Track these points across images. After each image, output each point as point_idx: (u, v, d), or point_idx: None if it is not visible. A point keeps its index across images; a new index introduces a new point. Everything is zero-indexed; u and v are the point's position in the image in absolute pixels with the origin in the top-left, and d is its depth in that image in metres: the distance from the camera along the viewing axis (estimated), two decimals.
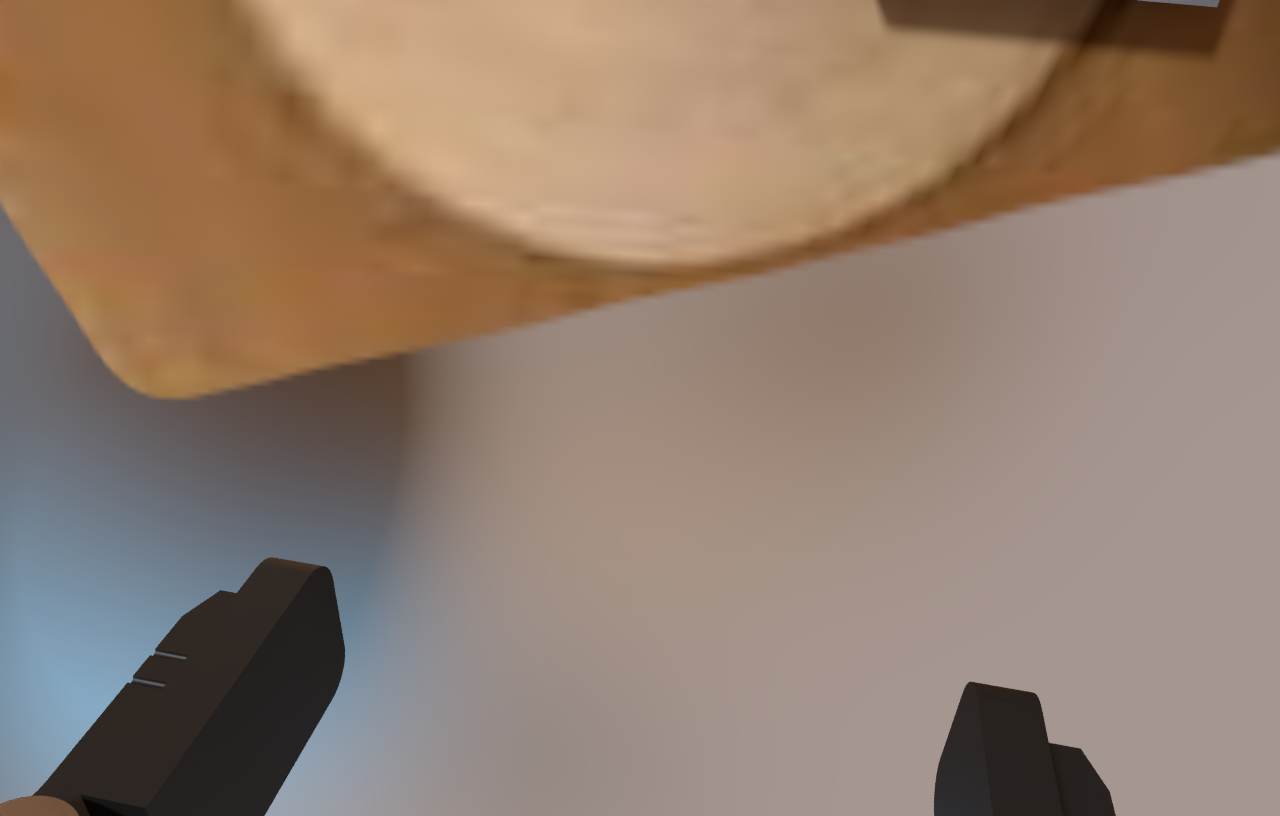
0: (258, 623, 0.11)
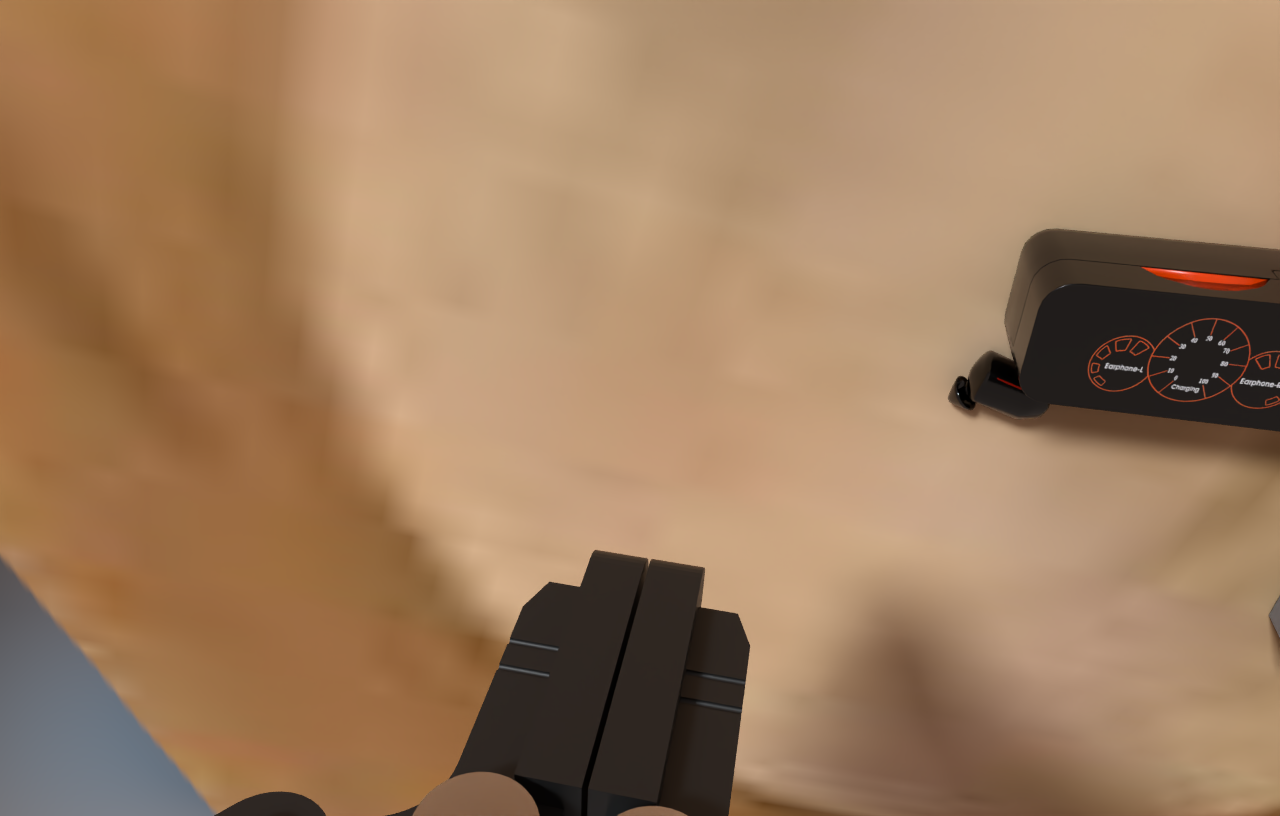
0: (614, 613, 0.11)
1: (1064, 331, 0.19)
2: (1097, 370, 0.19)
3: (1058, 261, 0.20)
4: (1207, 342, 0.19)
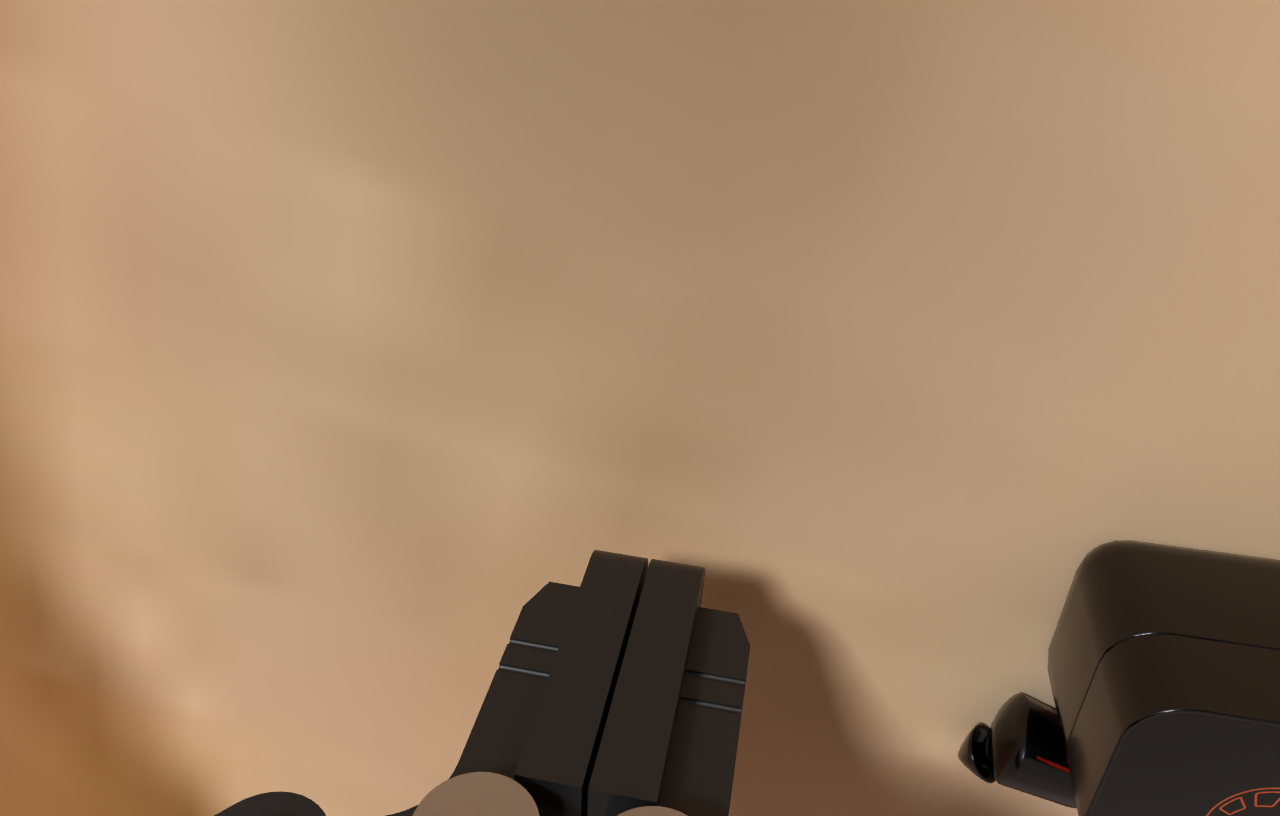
0: (614, 613, 0.11)
1: (1164, 772, 0.11)
2: None
3: (1149, 636, 0.11)
4: None
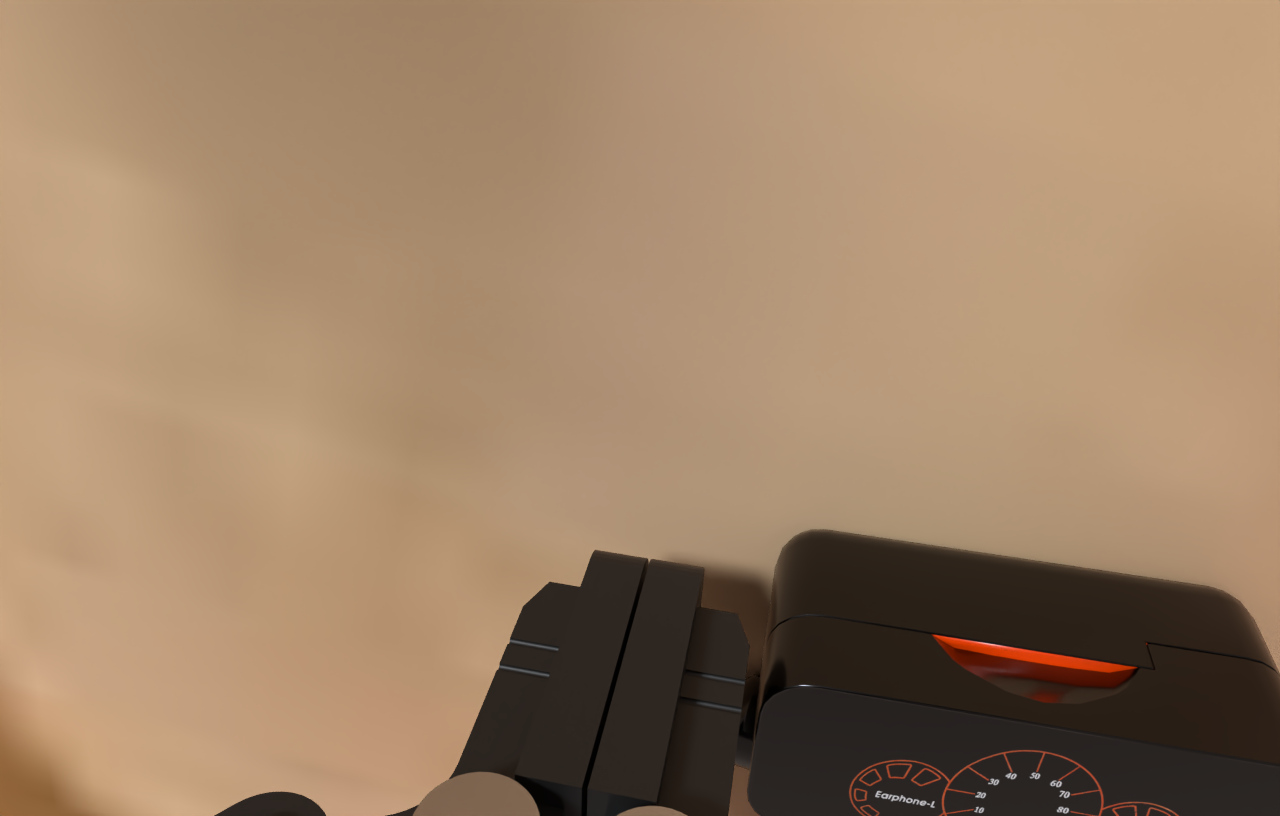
0: (615, 613, 0.11)
1: (804, 745, 0.12)
2: (864, 798, 0.12)
3: (803, 618, 0.12)
4: (1032, 780, 0.11)
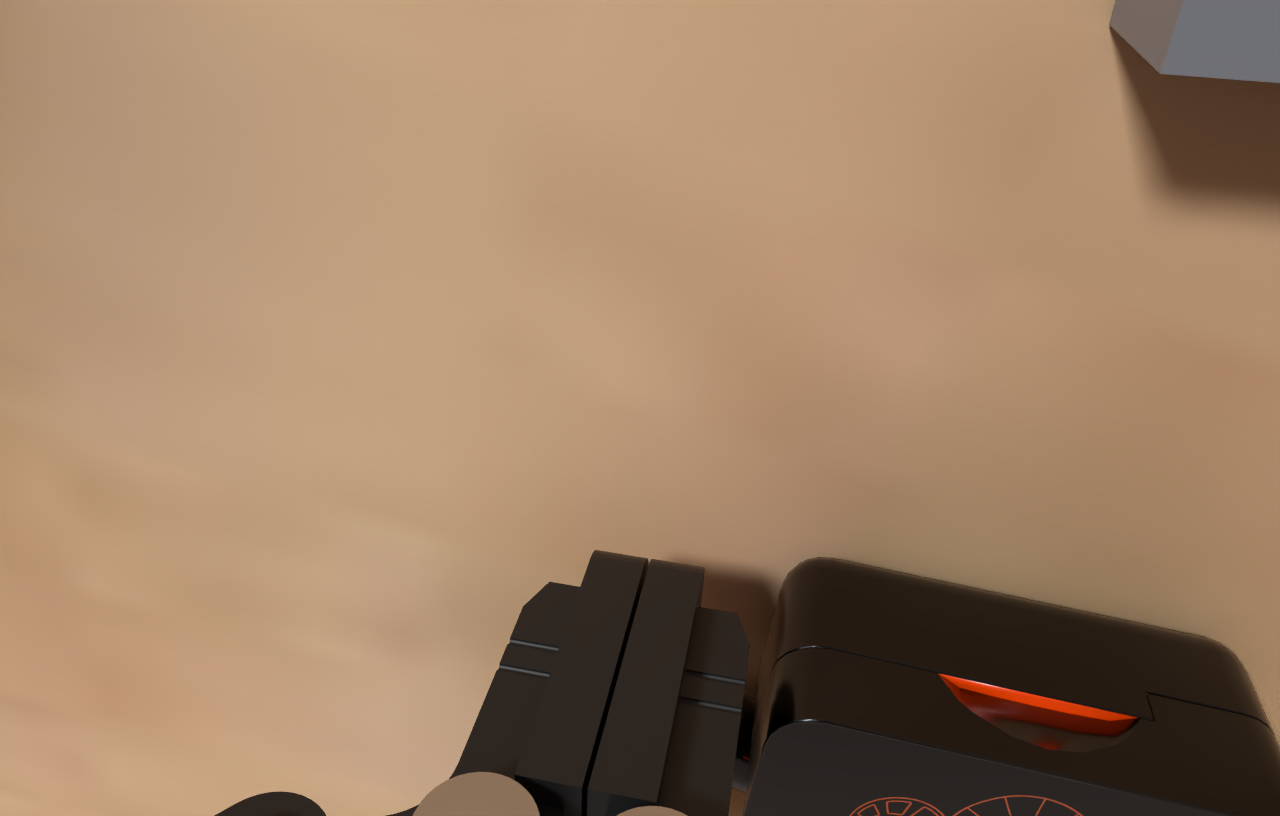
0: (614, 612, 0.11)
1: (806, 777, 0.12)
2: None
3: (811, 649, 0.12)
4: None
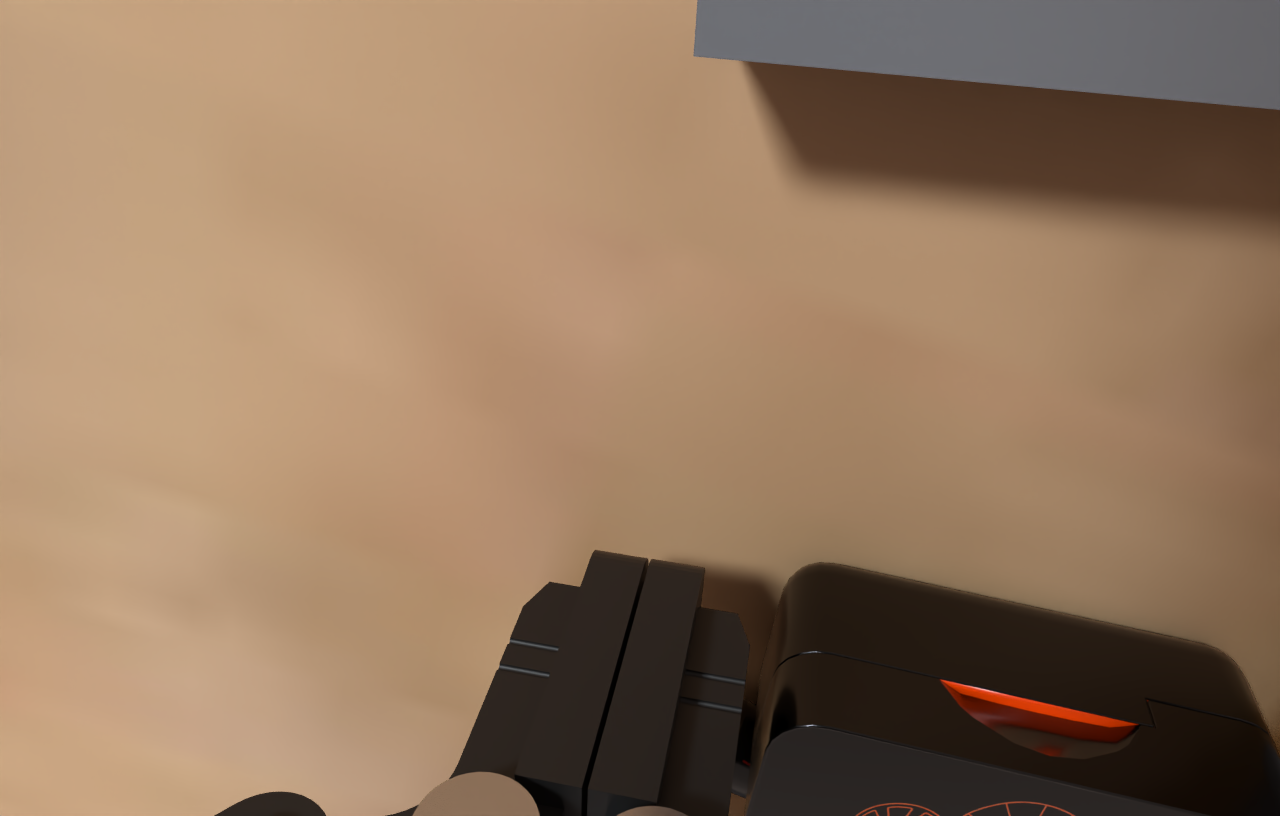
0: (615, 613, 0.11)
1: (807, 782, 0.12)
2: None
3: (813, 655, 0.12)
4: None
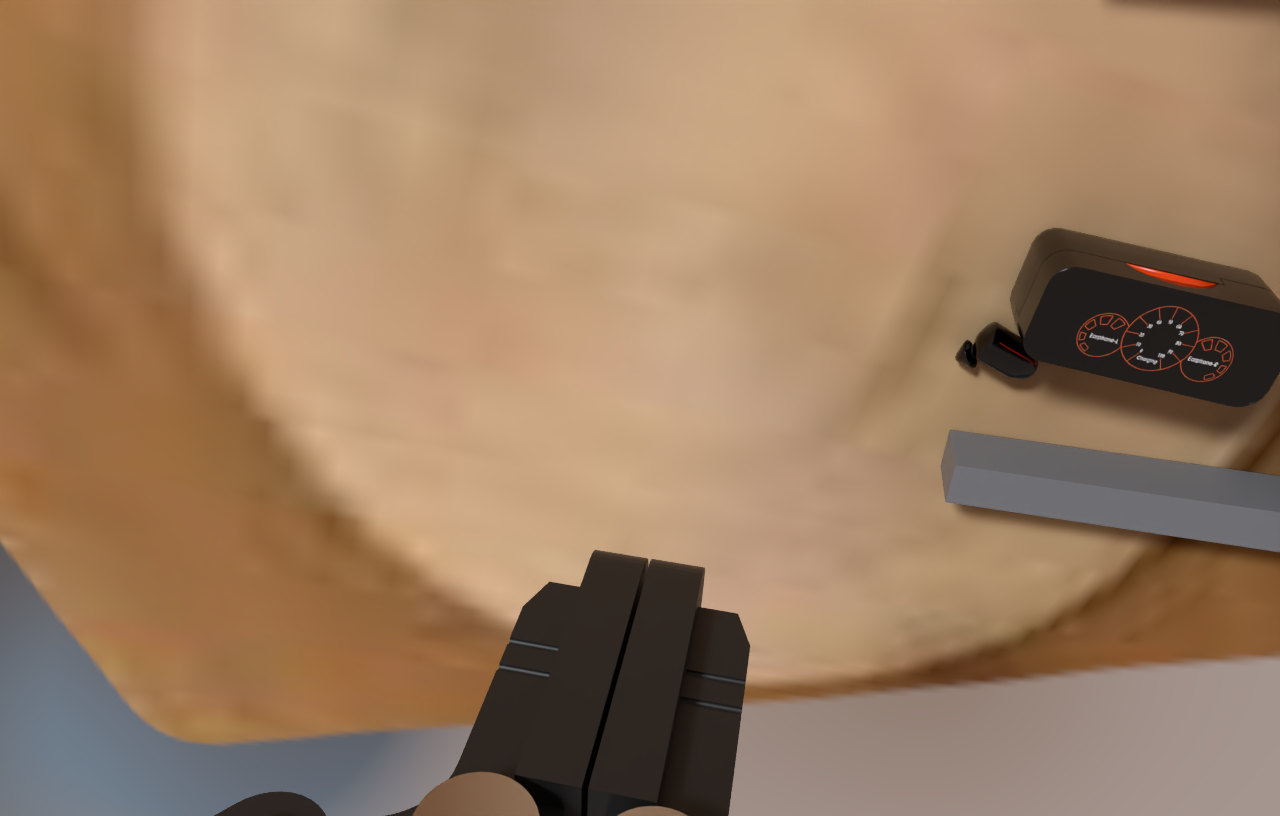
0: (614, 612, 0.11)
1: (1063, 304, 0.25)
2: (1083, 338, 0.25)
3: (1064, 251, 0.25)
4: (1168, 325, 0.25)
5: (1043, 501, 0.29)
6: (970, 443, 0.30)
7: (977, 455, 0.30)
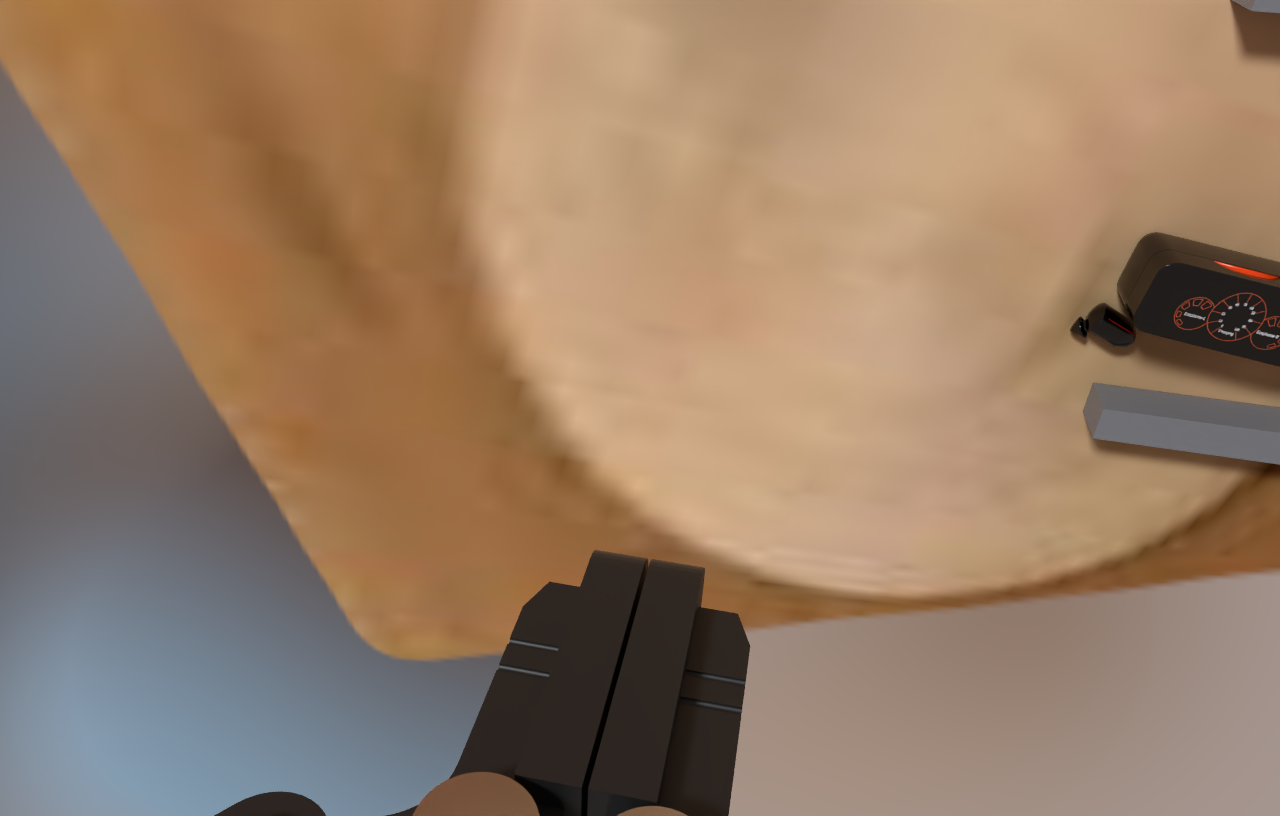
0: (614, 613, 0.11)
1: (1167, 290, 0.33)
2: (1179, 315, 0.34)
3: (1167, 250, 0.34)
4: (1244, 306, 0.33)
5: (1172, 436, 0.37)
6: (1111, 392, 0.38)
7: (1118, 402, 0.38)
